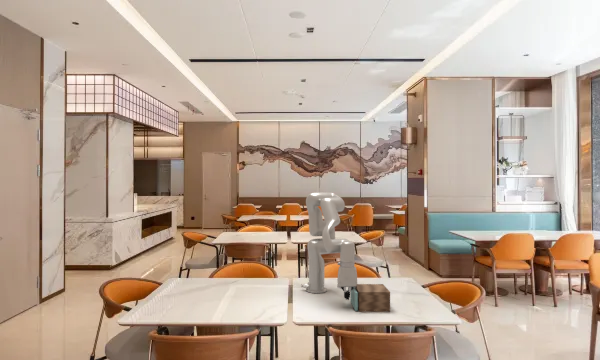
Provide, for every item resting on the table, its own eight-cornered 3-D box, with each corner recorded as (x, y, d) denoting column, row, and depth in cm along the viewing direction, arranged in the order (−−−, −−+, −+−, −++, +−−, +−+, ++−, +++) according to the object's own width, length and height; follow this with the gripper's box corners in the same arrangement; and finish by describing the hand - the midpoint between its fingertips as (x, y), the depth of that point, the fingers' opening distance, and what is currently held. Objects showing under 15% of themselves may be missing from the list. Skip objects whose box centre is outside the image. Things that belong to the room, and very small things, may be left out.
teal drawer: (355, 310, 208) (355, 292, 208) (350, 301, 223) (350, 285, 223) (386, 310, 208) (386, 292, 208) (379, 301, 224) (379, 285, 224)
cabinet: (359, 311, 207) (359, 292, 207) (353, 302, 223) (354, 284, 223) (390, 311, 208) (390, 292, 208) (382, 302, 224) (382, 284, 224)
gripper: (334, 265, 211) (333, 301, 211) (362, 266, 212) (362, 301, 212) (332, 263, 219) (332, 297, 219) (360, 263, 219) (359, 297, 219)
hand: (347, 299), depth 215 cm, fingers closed
